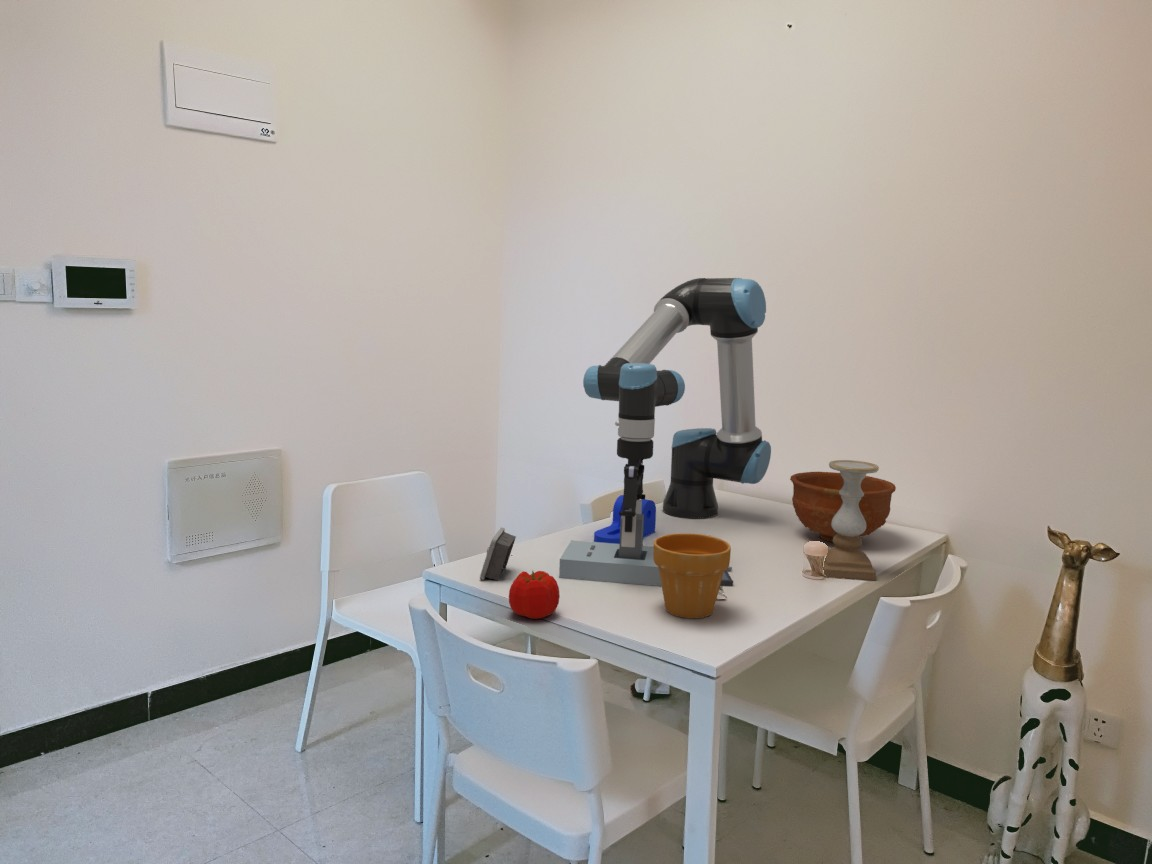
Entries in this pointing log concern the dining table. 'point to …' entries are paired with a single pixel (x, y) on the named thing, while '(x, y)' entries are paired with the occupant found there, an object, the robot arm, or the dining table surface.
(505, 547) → the electrical switch
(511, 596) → the tomato
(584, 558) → the plate
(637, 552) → the plug
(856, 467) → the candle holder
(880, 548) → the dining table surface
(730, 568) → the usb cable
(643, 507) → the bracket
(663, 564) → the flower pot
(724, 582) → the phone
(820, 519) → the bowl
